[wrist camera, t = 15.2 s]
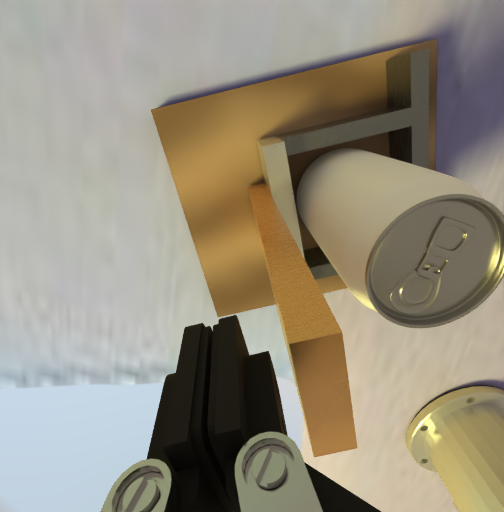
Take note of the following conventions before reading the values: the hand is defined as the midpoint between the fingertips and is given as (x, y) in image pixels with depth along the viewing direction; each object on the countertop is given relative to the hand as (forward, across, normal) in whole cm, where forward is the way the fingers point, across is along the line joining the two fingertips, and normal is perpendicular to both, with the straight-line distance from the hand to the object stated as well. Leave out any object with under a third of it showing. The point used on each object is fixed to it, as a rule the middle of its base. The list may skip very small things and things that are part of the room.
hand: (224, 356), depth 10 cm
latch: (+14, -3, 0) cm, 14 cm away
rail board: (+15, -7, 0) cm, 17 cm away
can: (+14, -8, 0) cm, 17 cm away
